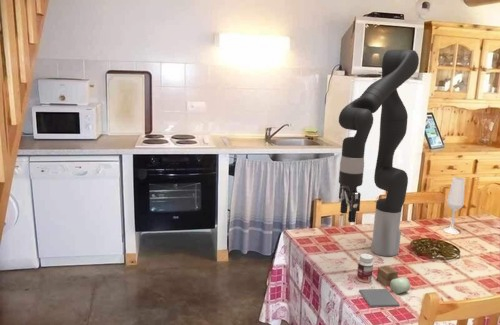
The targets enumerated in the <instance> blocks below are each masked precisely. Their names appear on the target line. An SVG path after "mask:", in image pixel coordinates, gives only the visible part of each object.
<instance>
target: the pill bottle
mask: <svg viewBox="0 0 500 325" xmlns="http://www.w3.org/2000/svg"><path fill="white" fill-rule="evenodd" d="M373 258H374V257H373V255H371V254H369V253H360V255H359V259H358V262H357V272H356V279H357V280H358V281H359V282H362V283H370V282H372V278H373V270H374V269H373V268H374V260H373Z"/></svg>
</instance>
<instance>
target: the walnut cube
mask: <svg viewBox="0 0 500 325" xmlns="http://www.w3.org/2000/svg"><path fill="white" fill-rule="evenodd" d="M376 273H377V275H376V280H377V282H379V283H381V285H383V286H385V287H388V286H390V283H391V280H393V279H397V278H399V271H398V270H396V269H395V268H393V267H392V266H391V265H386V266H385V265H384V266H379V267H377V272H376ZM390 287H391V286H390Z"/></svg>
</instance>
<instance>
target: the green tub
mask: <svg viewBox="0 0 500 325" xmlns="http://www.w3.org/2000/svg"><path fill="white" fill-rule="evenodd" d="M390 289H391V291H392V292H393V293H394V294H401V293H405V292H409V290H410V289H411V282H410V280H409V279H408V278H407V277H406V276H401V277H398V278H397V279H393V280H391V283H390Z"/></svg>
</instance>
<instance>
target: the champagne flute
mask: <svg viewBox="0 0 500 325" xmlns="http://www.w3.org/2000/svg"><path fill="white" fill-rule="evenodd" d="M465 187H466V179H465V178H464V177H459V176H458V177H457V176H456V177H455V176H454V177H452V180H451V184H450V187H449V191H448V196H447V201H446V204H447V206H448V207H449V208H450V209H451V210H452V212H451V219H450V220H451V221H450V226H448V227H446V228H443V229H442V232H445V233H447V234H452V235H458V234H460V231H458V229H456V228H455V227H454V223H455V217H456V213H457V212H456V211H458V210H460V209H462V207H464V205H465V204H464V203H465V191H466V190H465Z"/></svg>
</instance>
